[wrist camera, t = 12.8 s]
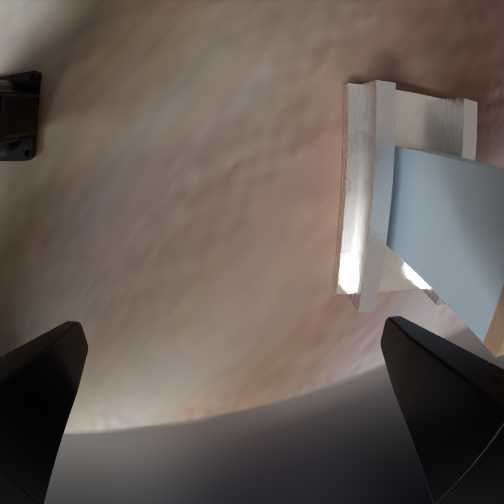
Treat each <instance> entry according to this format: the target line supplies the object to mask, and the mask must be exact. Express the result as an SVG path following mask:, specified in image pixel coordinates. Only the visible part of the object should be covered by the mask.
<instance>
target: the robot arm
mask: <svg viewBox="0 0 504 504" xmlns="http://www.w3.org/2000/svg"><path fill="white" fill-rule="evenodd" d="M35 75H36V78H35V80H33V78H34V76H35ZM40 83H41V73H40V72H39V71H30V72H24V73H19V74H14V75H9V76H4V77H0V161H27V160H31V159H33V158H34V156H35V144H36V130H37V116H38V104H39V91H40ZM28 150H29V152H30V155H29V156H28ZM381 349H382V352H383V356H384V359H385V363H386V366H387V370H388V373H389V377H390V380H391V384H392V387H393V390H394V393H395V396H396V398H397V401H398V403H399V406H400V408H401V411H402V414H403V416H404V419H405V422H406V424H407V427H408V429H409V432H410V435H411V438H412V440H413V443H414V446H415V449H416V452H417V455H418V457H419V460H420V463H421V466H422V469H423V472H424V475H425V478H426V481H427V484H428V488H429V490H430V494H431V497H432V500H433V504H504V369H502V368H500V367H498V366H496V365H494V364H492V363H488V361H486V360H484V359H482V358H480V357H478V356H477V355H475V354H472V353H471V352H469V351H467V350H465V349H463V348H461V347H459V346H457V345H455V344H453V343H452V342H450V341H448V340H446V339H444V338H442V337H440V336H438V335H436V334H434V333H432V332H430V331H428V330H426V329H424V328H422V327H420V326H418V325H417V324H415V323H413V322H411V321H409V320H407V319H405V318H403V317H401V316H395V317H388V318H387V319H386V322H385V325H384V330H383V334H382V338H381ZM87 353H88V344H87V340H86V337H85V334H84V331H83V328H82V325H81V324H80V323H79V322H74V321H67V322H65V323H63V324H61V325H59V326H57V327H56V328H54V329H52V330H50V331H48V332H46V333H44V334H43V335H41V336H39V337H37V338H35V339H33V340H31V341H30V342H28V343H26V344H24V345H22V346H20V347H19V348H17V349H15V350H13V351H11V352H9V353H8V354H6V355H4V356H2V357H0V504H44V501H45V497H46V493H47V489H48V485H49V481H50V477H51V474H52V470H53V467H54V463H55V460H56V456H57V453H58V449H59V446H60V443H61V439H62V436H63V433H64V430H65V427H66V424H67V421H68V418H69V415H70V412H71V409H72V406H73V403H74V400H75V397H76V394H77V391H78V388H79V384H80V380H81V376H82V372H83V368H84V364H85V360H86V357H87Z"/></svg>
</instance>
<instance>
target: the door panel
mask: <svg viewBox="0 0 504 504" xmlns="http://www.w3.org/2000/svg"><path fill="white" fill-rule="evenodd" d="M386 246H388V247H389V248H390V249H391V250H392V251H393V252H394V253H395V254H396V255H397V256H398V257H399V258H401V259H402V260H403V261H404V262H405V263H406V264H407V265H408V266H409V267H410V268H411V269H412V270H413V271H414V272H415V273H416V274H417V275H418V276H419V277H420V278H421V279H422V280H423V281H424V282H426V283H427V284H428V285H429V286H430V287H431V288H432V289H433V290H434V291H435V292H436V293H437V294H438V295H439V296H440V297H441V299H442V300H443V301H444V302H445V303H446V304H447V305H448V306H449V307H450V308H451V309H452V310H453V311H454V312H455V313H456V314H457V315H458V316H459V317H460V318H461V319H462V320H463V321H464V323H465V324H466V325H467V326H468V327H469V328H470V329H471V330H472V331H473V332H474V333H475V334H476V335H477V337H478V338H479V339H480V340H481V341H482V342H483V343H484V344H485V346H486V347H487V348H488V349H489V350H490V351H491V352H492V354H493V355H494V356H495V357H498V356H501V355H504V168H501V167H498V166H494V165H490V164H487V163H483V162H479V161H475V160H471V159H467V158H463V157H459V156H455V155H451V154H446V153H442V152H437V151H432V150H426V149H418V148H410V147H401V146H395V155H394V171H393V185H392V196H391V207H390V216H389V225H388V233H387V241H386Z"/></svg>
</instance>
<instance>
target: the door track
mask: <svg viewBox="0 0 504 504" xmlns="http://www.w3.org/2000/svg"><path fill="white" fill-rule="evenodd" d="M476 141H477V102H475V101H471V100H468V99H464V98H458V99H440V98H436V97H431V96H427V95H422V94H417V93H412V92H406V91H401V90H396V83H393V82H387V81H381V80H374V81H371V82H367V83H364V84H352V83H347V84H344V85H343V153H342V178H341V197H340V213H339V227H338V239H337V251H336V262H335V272H334V281H333V289H334V291H335V293H336V294H348V296H349V298H350V300H351V301H352V303H353V305H354V306H355V308H356V310H357V312H370V311H375V308H376V303H377V297H378V292H383V291H397V290H410V289H422V290H423V291H424V292H425V293H426V294H427V295H428V296H429V297H430V299H431V300H432V301H433V302H434V303H435V304H436V305H440V304H446V303H445V302H444V301H443V300H442V299H441V297H440V296H439V295H438V294H437V293H436V292H435V291H434V290H433V289H432V288H431V287H430V286H429V285H428V284H427V283H426V282H424V281H423V280H422V279H421V278H420V277H419V276H418V275H417V274H416V273H415V272H414V271H413V270H412V269H411V268H410V267H409V266H408V265H407V264H406V263H405V262H404V261H403V260H402V259H401V258H399V257H398V256H397V255H396V254H395V253H394V252H393V251H392V250H391V249H390V248H389V247H388V246H386V241H387V233H388V225H389V216H390V207H391V196H392V185H393V171H394V155H395V146H401V147H410V148H418V149H426V150H432V151H437V152H442V153H446V154H451V155H455V156H459V157H463V158H467V159H471V160H475V157H476Z"/></svg>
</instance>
